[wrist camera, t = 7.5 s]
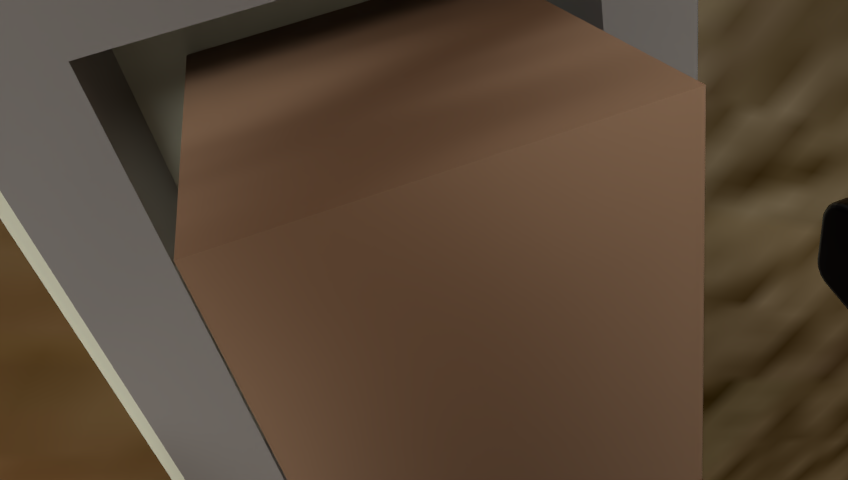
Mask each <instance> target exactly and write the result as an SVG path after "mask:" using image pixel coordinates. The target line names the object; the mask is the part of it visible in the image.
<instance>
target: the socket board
mask: <svg viewBox="0 0 848 480" xmlns="http://www.w3.org/2000/svg"><path fill="white" fill-rule="evenodd" d="M365 1H369V0H0V219H1V220H2V222H3V223H4V225H5V226H6V228H7V229H8V231H9V233H10V234H11V236H12V237H13V239H14V240H15V242H16V243H17V245H18V246H19V248H20V249H21V251H22V252H23V254H24V255H25V257H26V258H27V260H28V261H29V263H30V264H31V266H32V267H33V269H34V271H35V272H36V274H37V275H38V277H39V278H40V280H41V281H42V283H43V284H44V286H45V287H46V289H47V290H48V292H49V293H50V295H51V296H52V298H53V299H54V301H55V302H56V304H57V306H58V307H59V309H60V310H61V312H62V313H63V315H64V316H65V318H66V319H67V321H68V322H69V324H70V325H71V327H72V328H73V330H74V331H75V333H76V334H77V336H78V337H79V339H80V341H81V342H82V344H83V345H84V347H85V348H86V350H87V351H88V353H89V354H90V356H91V357H92V359H93V360H94V362H95V363H96V365H97V366H98V368H99V369H100V371H101V372H102V374H103V376H104V377H105V379H106V380H107V382H108V383H109V385H110V386H111V388H112V389H113V391H114V392H115V394H116V395H117V397H118V398H119V400H120V401H121V403H122V404H123V406H124V407H125V409H126V410H127V412H128V414H129V415H130V417H131V418H132V420H133V421H134V423H135V424H136V426H137V427H138V429H139V430H140V432H141V433H142V435H143V436H144V438H145V439H146V441H147V442H148V444H149V445H150V447H151V449H152V450H153V452H154V453H155V455H156V456H157V458H158V459H159V461H160V462H161V464H162V465H163V467H164V468H165V470H166V471H167V473H168V474H169V476H170V477H171V479H172V480H287V479H286V477H285V475H284V473H283V471H282V469H281V467H280V465H279V463H278V461H277V460H276V458H275V456H274V454H273V452H272V450H271V448H270V446H269V444H268V442H267V440H266V438H265V436H264V434H263V432H262V431H261V429H260V427H259V425H258V423H257V421H256V419H255V417H254V415H253V413H252V411H251V409H250V407H249V405H248V403H247V401H246V400H245V398H244V396H243V394H242V392H241V390H240V388H239V386H238V384H237V382H236V380H235V378H234V376H233V374H232V372H231V371H230V369H229V367H228V365H227V363H226V361H225V359H224V357H223V355H222V353H221V351H220V349H219V347H218V345H217V343H216V342H215V340H214V338H213V336H212V334H211V332H210V330H209V328H208V326H207V324H206V322H205V320H204V318H203V316H202V314H201V313H200V311H199V309H198V307H197V305H196V303H195V301H194V299H193V297H192V295H191V293H190V291H189V289H188V287H187V285H186V284H185V282H184V280H183V278H182V276H181V274H180V272H179V270H178V268H177V266H176V264H175V262H174V249H175V233H176V217H177V201H178V185H179V169H180V153H181V137H182V121H183V105H184V89H185V73H186V56H187V55H188V54H192V53H195V52H198V51H202V50H205V49H208V48H212V47H215V46H218V45H222V44H225V43H228V42H232V41H235V40H239V39H242V38H245V37H249V36H252V35H255V34H259V33H262V32H265V31H269V30H272V29H275V28H279V27H282V26H285V25H289V24H292V23H295V22H299V21H302V20H305V19H309V18H312V17H315V16H319V15H322V14H325V13H329V12H332V11H335V10H339V9H342V8H345V7H349V6H352V5H355V4H359V3H362V2H365ZM546 1H548V2H549V3H551V4H553V5H555V6H557V7H559V8H561V9H563V10H565V11H567V12H568V13H570V14H572V15H574V16H576V17H578V18H580V19H582V20H584V21H586V22H587V23H589V24H591V25H593V26H595V27H597V28H599V29H601V30H603V31H605V32H606V33H608V34H610V35H612V36H614V37H616V38H618V39H620V40H622V41H623V42H625V43H627V44H629V45H631V46H633V47H635V48H637V49H639V50H641V51H642V52H644V53H646V54H648V55H650V56H652V57H654V58H656V59H658V60H660V61H661V62H663V63H665V64H667V65H669V66H671V67H673V68H675V69H677V70H679V71H680V72H682V73H684V74H686V75H688V76H690V77H692V78H694V79H696V80H697V81H698V0H546Z"/></svg>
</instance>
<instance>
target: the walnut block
mask: <svg viewBox="0 0 848 480" xmlns="http://www.w3.org/2000/svg"><path fill="white" fill-rule="evenodd" d="M705 123H706V85H705V84H703V83H701V82H699V81H697V80H696V79H694V78H692V77H690V76H688V75H686V74H684V73H682V72H680V71H679V70H677V69H675V68H673V67H671V66H669V65H667V64H665V63H663V62H661V61H660V60H658V59H656V58H654V57H652V56H650V55H648V54H646V53H644V52H642V51H641V50H639V49H637V48H635V47H633V46H631V45H629V44H627V43H625V42H623V41H622V40H620V39H618V38H616V37H614V36H612V35H610V34H608V33H606V32H605V31H603V30H601V29H599V28H597V27H595V26H593V25H591V24H589V23H587V22H586V21H584V20H582V19H580V18H578V17H576V16H574V15H572V14H570V13H568V12H567V11H565V10H563V9H561V8H559V7H557V6H555V5H553V4H551V3H549V2H548V1H546V0H369V1H365V2H362V3H359V4H355V5H352V6H349V7H345V8H342V9H339V10H335V11H332V12H329V13H325V14H322V15H319V16H315V17H312V18H309V19H305V20H302V21H299V22H295V23H292V24H289V25H285V26H282V27H279V28H275V29H272V30H269V31H265V32H262V33H259V34H255V35H252V36H249V37H245V38H242V39H239V40H235V41H232V42H228V43H225V44H222V45H218V46H215V47H212V48H208V49H205V50H202V51H198V52H195V53H192V54H188V55H187V56H186V73H185V89H184V105H183V121H182V137H181V153H180V169H179V185H178V201H177V217H176V233H175V249H174V262H175V264H176V266H177V268H178V270H179V272H180V274H181V276H182V278H183V280H184V282H185V284H186V285H187V287H188V289H189V291H190V293H191V295H192V297H193V299H194V301H195V303H196V305H197V307H198V309H199V311H200V313H201V314H202V316H203V318H204V320H205V322H206V324H207V326H208V328H209V330H210V332H211V334H212V336H213V338H214V340H215V342H216V343H217V345H218V347H219V349H220V351H221V353H222V355H223V357H224V359H225V361H226V363H227V365H228V367H229V369H230V371H231V372H232V374H233V376H234V378H235V380H236V382H237V384H238V386H239V388H240V390H241V392H242V394H243V396H244V398H245V400H246V401H247V403H248V405H249V407H250V409H251V411H252V413H253V415H254V417H255V419H256V421H257V423H258V425H259V427H260V429H261V431H262V432H263V434H264V436H265V438H266V440H267V442H268V444H269V446H270V448H271V450H272V452H273V454H274V456H275V458H276V460H277V461H278V463H279V465H280V467H281V469H282V471H283V473H284V475H285V477H286V479H287V480H702V458H703V347H704V235H705Z"/></svg>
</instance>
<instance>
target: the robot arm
mask: <svg viewBox="0 0 848 480" xmlns="http://www.w3.org/2000/svg"><path fill="white" fill-rule="evenodd" d="M818 268H819V271H820V274H821V276H822V278H823V279H824V281H825V282H826V284H827V285H828V286H829V287H830V289H831V290H832V291H833V292H834V293H835V295H836V296H837V297H838V298H839V299H840V300H841V302H842V303H843V304H844V305H845V306H846V308H847V309H848V198H845V199H842V200H839V201H837V202H834V203H832V204H830V205H829V206H828V207H827V209H826V210H825V212H824V215H823V220H822V229H821V237H820V245H819V253H818Z"/></svg>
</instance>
